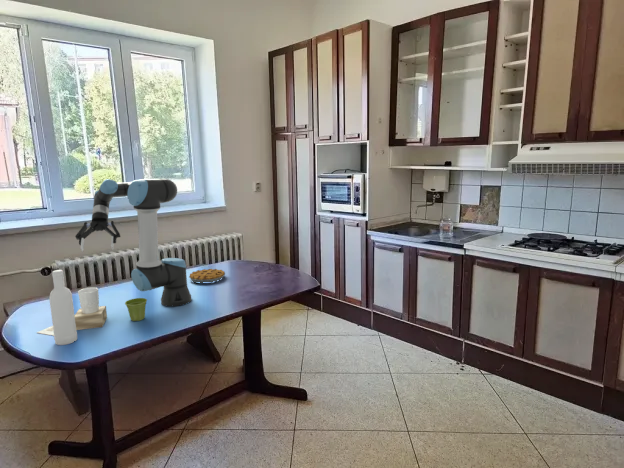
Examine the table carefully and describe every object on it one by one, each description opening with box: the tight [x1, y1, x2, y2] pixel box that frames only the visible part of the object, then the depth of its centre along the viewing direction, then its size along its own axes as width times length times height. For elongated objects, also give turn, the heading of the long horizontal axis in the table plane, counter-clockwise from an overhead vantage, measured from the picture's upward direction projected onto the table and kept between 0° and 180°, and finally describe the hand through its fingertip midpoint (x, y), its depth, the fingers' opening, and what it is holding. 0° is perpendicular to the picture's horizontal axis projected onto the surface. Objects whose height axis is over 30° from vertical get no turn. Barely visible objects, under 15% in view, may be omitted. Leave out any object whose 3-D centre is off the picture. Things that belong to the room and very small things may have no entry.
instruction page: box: [36, 325, 54, 337], centre depth 171 cm, size 12×9×1 cm
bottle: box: [48, 269, 78, 346], centre depth 159 cm, size 8×8×30 cm
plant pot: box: [124, 297, 148, 322], centre depth 183 cm, size 9×9×9 cm
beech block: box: [74, 305, 108, 331], centre depth 178 cm, size 11×11×6 cm
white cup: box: [77, 286, 100, 314], centre depth 176 cm, size 8×8×10 cm
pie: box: [188, 268, 226, 283], centre depth 244 cm, size 22×22×5 cm
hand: (97, 249), depth 196 cm, fingers open, 13 cm apart
